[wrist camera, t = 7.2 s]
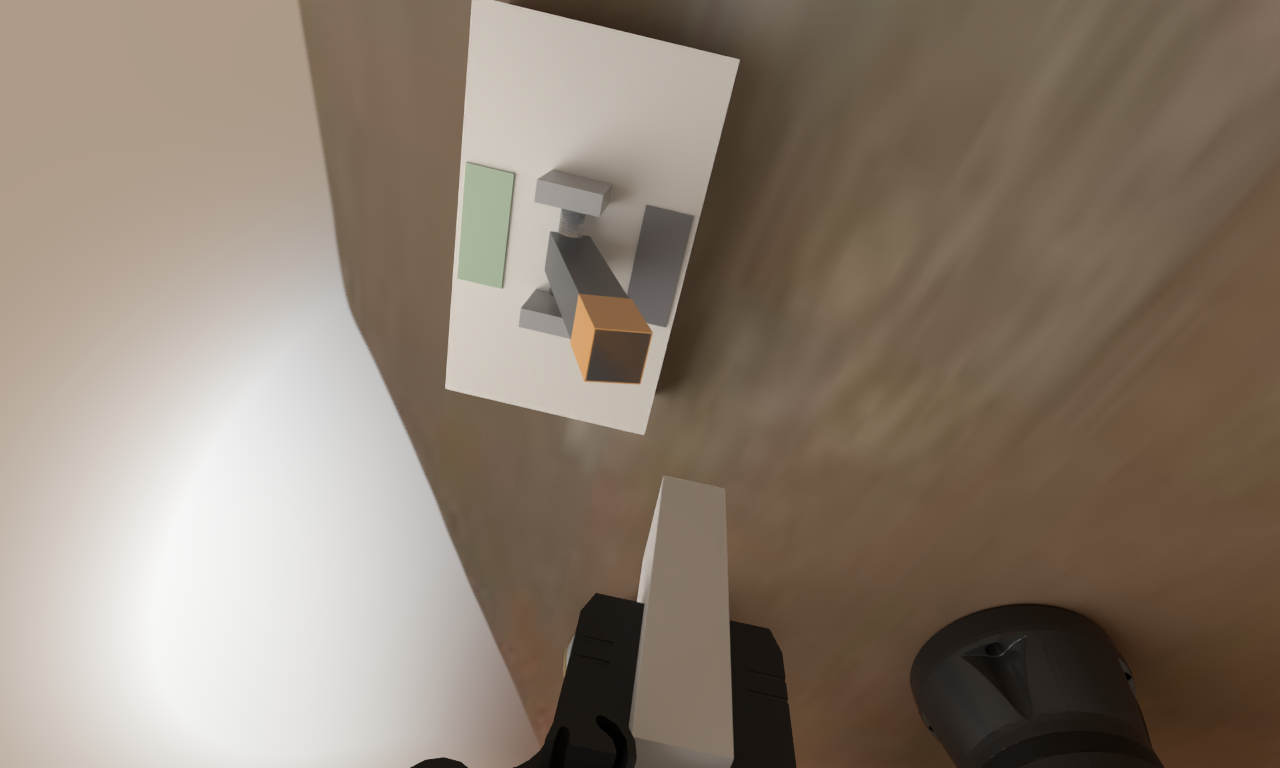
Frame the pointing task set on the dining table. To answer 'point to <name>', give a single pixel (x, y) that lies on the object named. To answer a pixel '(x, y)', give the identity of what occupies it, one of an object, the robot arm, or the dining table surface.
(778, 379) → the dining table surface
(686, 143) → the switch box
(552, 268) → the switch lever
